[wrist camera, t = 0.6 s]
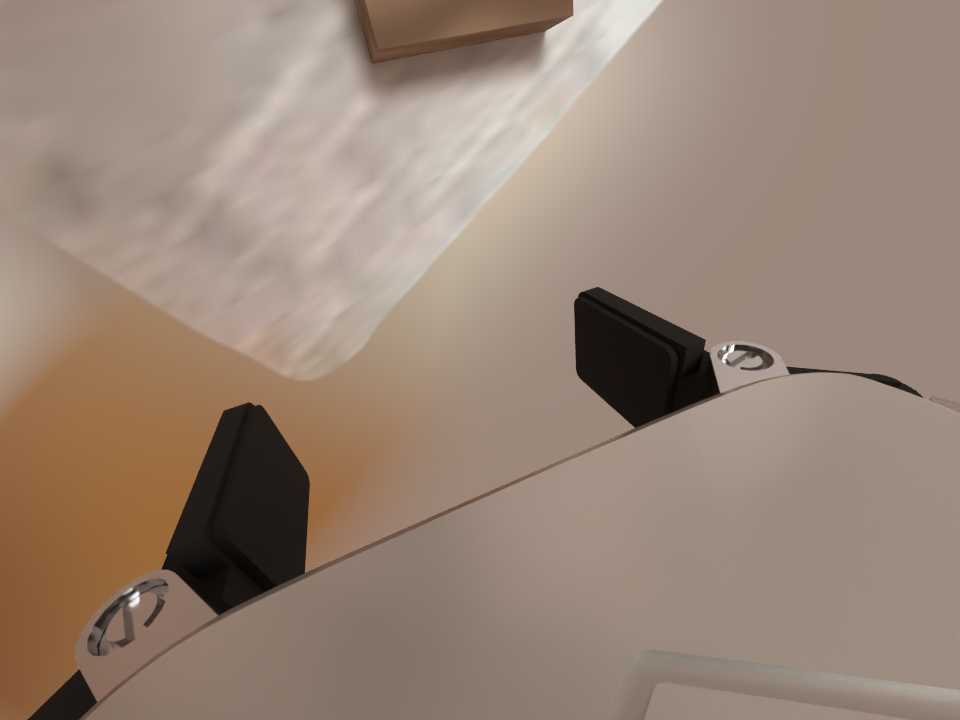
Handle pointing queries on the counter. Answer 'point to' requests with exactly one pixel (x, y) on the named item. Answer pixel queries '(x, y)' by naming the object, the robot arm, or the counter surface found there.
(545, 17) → the walnut block
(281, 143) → the counter surface
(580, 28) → the counter surface
